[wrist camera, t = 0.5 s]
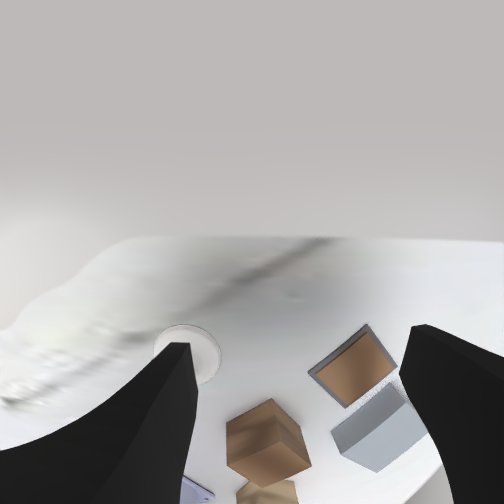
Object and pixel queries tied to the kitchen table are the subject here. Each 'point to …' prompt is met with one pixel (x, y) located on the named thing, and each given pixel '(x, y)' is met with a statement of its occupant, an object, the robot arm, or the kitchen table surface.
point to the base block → (380, 430)
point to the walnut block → (265, 445)
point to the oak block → (268, 493)
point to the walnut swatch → (354, 367)
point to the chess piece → (193, 349)
